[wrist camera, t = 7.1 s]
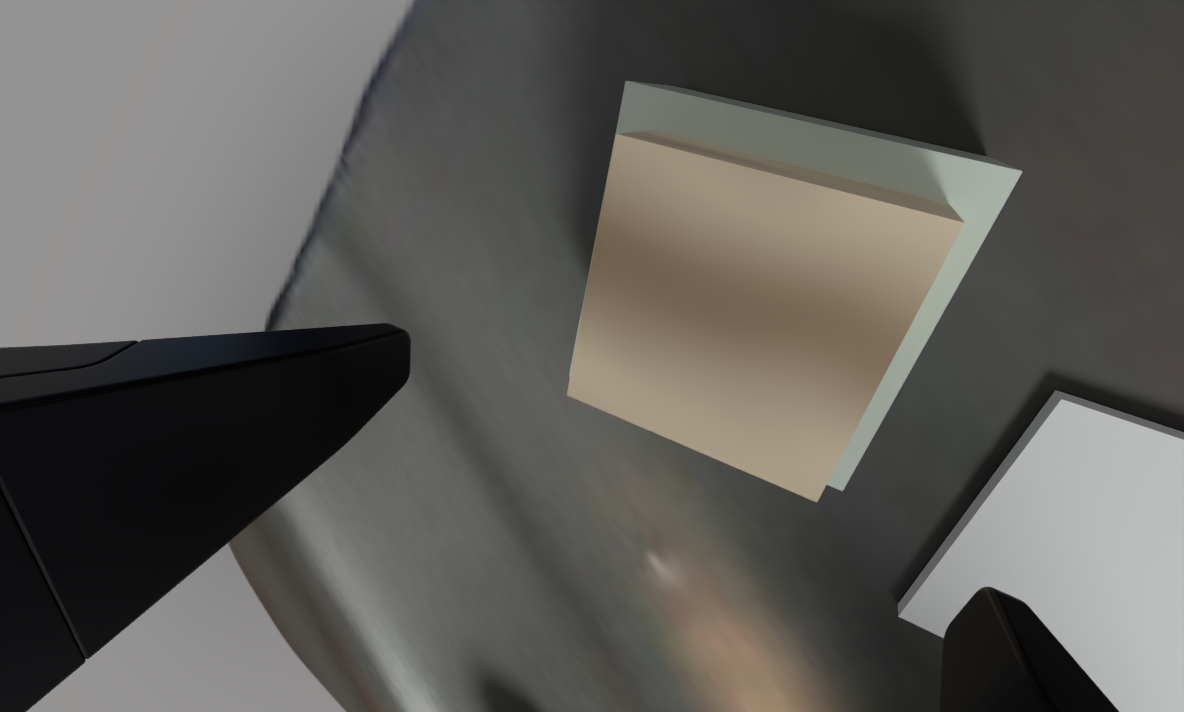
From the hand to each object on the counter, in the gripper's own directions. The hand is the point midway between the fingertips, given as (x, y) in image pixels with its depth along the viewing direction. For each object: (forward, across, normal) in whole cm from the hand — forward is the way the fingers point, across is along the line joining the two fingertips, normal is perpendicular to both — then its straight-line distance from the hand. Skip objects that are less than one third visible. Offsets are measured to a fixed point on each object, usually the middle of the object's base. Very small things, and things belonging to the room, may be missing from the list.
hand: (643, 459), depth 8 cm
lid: (+8, 0, 0) cm, 8 cm away
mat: (+12, -14, +6) cm, 19 cm away
